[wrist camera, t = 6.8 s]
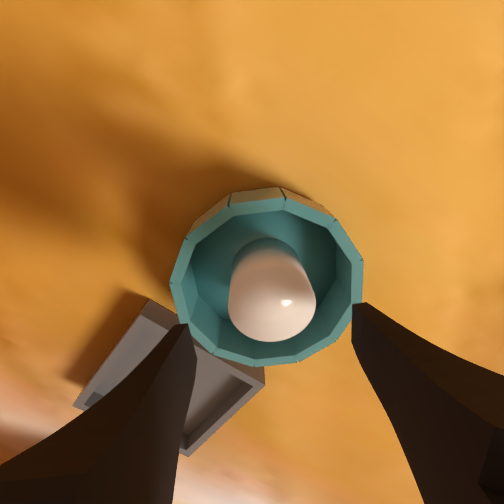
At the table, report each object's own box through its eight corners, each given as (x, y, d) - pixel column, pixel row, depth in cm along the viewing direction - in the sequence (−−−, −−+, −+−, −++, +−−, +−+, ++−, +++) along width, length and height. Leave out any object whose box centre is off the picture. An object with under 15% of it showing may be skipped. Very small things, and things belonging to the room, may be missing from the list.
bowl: (201, 336, 20) (193, 373, 17) (168, 198, 16) (149, 214, 13) (342, 321, 20) (360, 355, 17) (342, 176, 16) (366, 186, 13)
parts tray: (192, 435, 25) (188, 457, 23) (85, 385, 22) (72, 405, 20) (263, 365, 22) (265, 385, 20) (149, 298, 19) (140, 314, 17)
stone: (235, 303, 19) (233, 345, 15) (227, 241, 17) (222, 271, 13) (301, 297, 18) (315, 338, 15) (300, 234, 17) (316, 263, 13)
